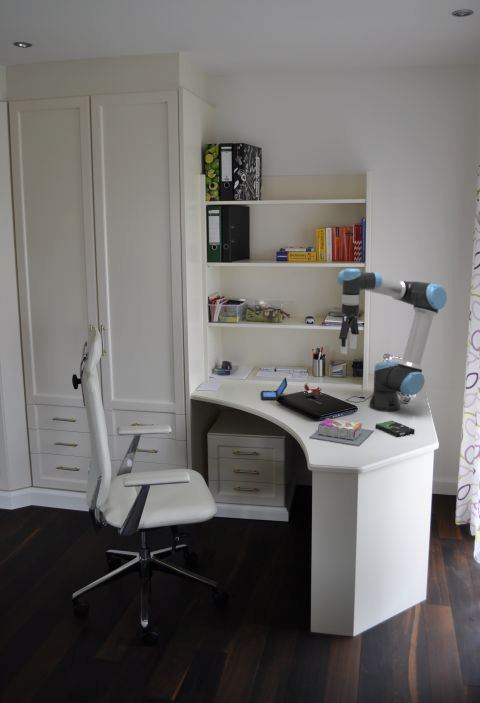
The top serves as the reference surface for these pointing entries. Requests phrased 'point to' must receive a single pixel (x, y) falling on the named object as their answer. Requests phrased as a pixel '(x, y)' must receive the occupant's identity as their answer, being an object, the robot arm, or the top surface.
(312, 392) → the figurine
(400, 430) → the disk drive
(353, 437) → the candy bar box
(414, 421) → the top surface
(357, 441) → the slate mat
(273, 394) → the handheld game console
